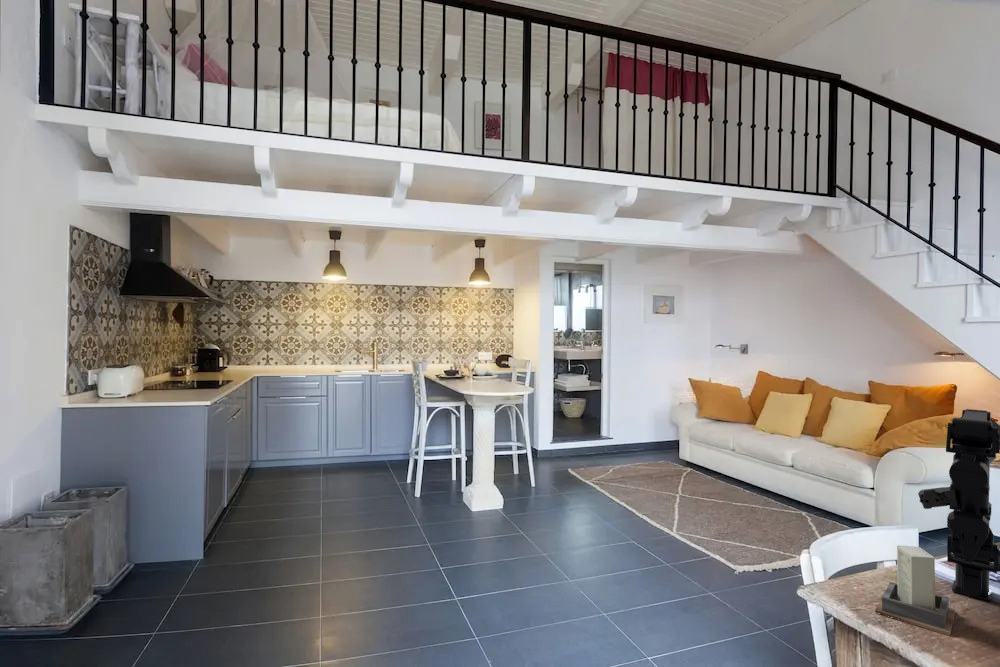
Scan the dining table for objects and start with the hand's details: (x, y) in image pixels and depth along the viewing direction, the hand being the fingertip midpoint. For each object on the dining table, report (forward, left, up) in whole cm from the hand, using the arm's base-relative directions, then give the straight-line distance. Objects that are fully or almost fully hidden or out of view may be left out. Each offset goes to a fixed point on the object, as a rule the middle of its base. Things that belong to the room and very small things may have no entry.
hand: (969, 554), depth 113 cm
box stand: (+8, -8, -12) cm, 16 cm away
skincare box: (+8, -8, -12) cm, 16 cm away
